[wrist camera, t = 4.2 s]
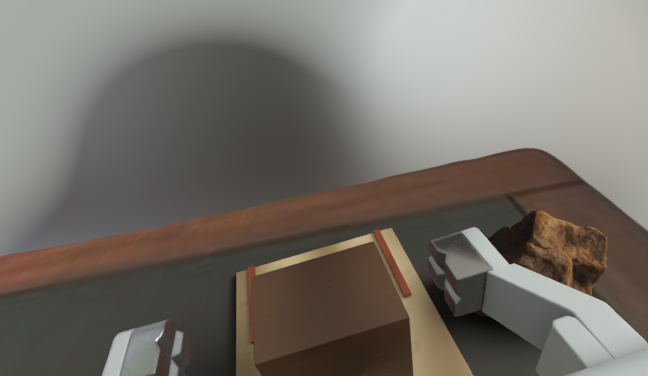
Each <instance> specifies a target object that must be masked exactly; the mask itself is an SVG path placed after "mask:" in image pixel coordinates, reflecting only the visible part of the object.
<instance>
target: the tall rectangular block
mask: <svg viewBox="0 0 648 376" xmlns="http://www.w3.org/2000/svg"><path fill="white" fill-rule="evenodd" d="M251 293H252V318H253V343H254V365H255V366H256V368H257V370H258V371H259V373H260V374H261V376H414V374H413V360H412V345H411V331H410V317H409V315H408V313H407V310H406V308H405V306H404V304H403V302H402V300H401V298H400V295H399V293H398V291H397V289H396V287H395V285H394V283H393V281H392V278H391V276H390V274H389V272H388V270H387V268H386V266H385V263H384V261H383V259H382V257H381V255H380V253H379V251H378V248H377V246H376V244H375V242H374V241H372V242H369V243H365V244H362V245H358V246H355V247H352V248H348V249H345V250H341V251H338V252H335V253H331V254H328V255H324V256H321V257H317V258H314V259H311V260H307V261H304V262H300V263H297V264H294V265H290V266H287V267H283V268H280V269H276V270H273V271H270V272H266V273H263V274H259V275H256V276H253V277H251Z"/></svg>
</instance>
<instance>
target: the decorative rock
mask: <svg viewBox="0 0 648 376" xmlns="http://www.w3.org/2000/svg"><path fill="white" fill-rule="evenodd" d="M488 241H489V242H490V243H491V244H492V245H493V246H494V247H495V249H496V250H497V251H498V252H499V253H500V254H501V255H502V257H503V258H504V259H505V260H506V261H507V262H508V263H509V265H510V264H514V263H515V264H517V265H519V266H522V267H524V268H526V269H529V270H531V271H533V272H536V273H538V274H540V275H543V276H545V277H547V278H550V279H552V280H554V281H557V282H559V283H561V284H564V285H566V286H568V287H571V288H573V289H575V290H578V291H580V292H582V293H585V294H587V295H589V296H592V293H591V290H592V287H593V285H594V284H595V283H596V282H597V281H598V280H599V278H600V276H601V275H602V274H603V273H604V272H605V270H606V264H605V263H606V254H607V237H606V236H605V235H603V234H602V233H601V232H600V231H598V230H597V229H595V228H593V227H589V226H584V227H581V226H575V225H574V224H572V223H570V222H566V221H562V220H559V219H555V218H553V217H551V216H549V215H548V214H546V213H545V212H542V211H540V210H536V211H532V212H530V213H529V214H528V215H527V216H526V217H524V218H523V219H522V220H521V221H520V222H518V223H516V224H515V225H513V226H512V227H509V226H505V227H503V228H501V229H499V230H498V231H497V232H496V233H495V234H493V235H492V236H491V237H490V238H489V239H488ZM473 313H476V314H478V315H480V316H486V317H490V316H488V315H487V314H485V313H484V312H482V310H479V311H476V312H473Z"/></svg>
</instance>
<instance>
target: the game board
mask: <svg viewBox="0 0 648 376" xmlns="http://www.w3.org/2000/svg"><path fill="white" fill-rule="evenodd" d="M372 241H374V242H375V244H376V246H377V248H378V251H379V253H380V255H381V257H382V259H383V261H384V263H385V266H386V268H387V270H388V272H389V274H390V276H391V278H392V281H393V283H394V285H395V287H396V289H397V291H398V293H399V295H400V298H401V300H402V302H403V304H404V306H405V308H406V310H407V313H408V315H409V317H410V331H411V345H412V360H413V374H414V376H473V374H472V372H471V371H470V369H469V367H468V365H467V363H466V362H465V360H464V358H463V356H462V354H461V353H460V351H459V349H458V347H457V345H456V344H455V342H454V340H453V338H452V336H451V335H450V333H449V331H448V329H447V327H446V325H445V324H444V322H443V320H442V318H441V316H440V315H439V313H438V311H437V309H436V307H435V306H434V304H433V302H432V300H431V298H430V297H429V295H428V293H427V291H426V289H425V288H424V286H423V284H422V282H421V280H420V279H419V277H418V275H417V273H416V271H415V269H414V268H413V266H412V264H411V262H410V260H409V259H408V257H407V255H406V253H405V251H404V250H403V248H402V246H401V244H400V242H399V241H398V239H397V237H396V235H395V233H394V232H393V230H392V228H389V229H385V230H382V231H380V230H379V229H377V230H374V231H373V233H372V234H368V235H365V236H361V237H358V238H354V239H351V240H348V241H344V242H341V243H337V244H334V245H330V246H327V247H324V248H320V249H317V250H313V251H310V252H306V253H303V254H300V255H296V256H293V257H289V258H286V259H282V260H279V261H276V262H272V263H269V264H265V265H262V266H258V267H255V266H250V267H248V270H245V271H241V272H238V273H236V376H261V374H260V373H259V371H258V370H257V368H256V366H255V365H254V343H253V318H252V293H251V277H253V276H256V275H259V274H263V273H266V272H270V271H273V270H276V269H280V268H283V267H287V266H290V265H294V264H297V263H300V262H304V261H307V260H311V259H314V258H317V257H321V256H324V255H328V254H331V253H335V252H338V251H341V250H345V249H348V248H352V247H355V246H358V245H362V244H365V243H369V242H372Z"/></svg>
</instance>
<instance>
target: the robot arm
mask: <svg viewBox="0 0 648 376" xmlns="http://www.w3.org/2000/svg"><path fill="white" fill-rule="evenodd" d="M428 251H429V252H430V254H431V255H430V257H429V258H428V267H429V271H430V274H431V276H432V279H433V281H434V283H435V284H436V286H437V287H438V288H439V289H441V290H443V291H444V300H445V301H446V303H447V305H448V306H449V308H450V310H451V311H452V313H453V315H454V316H455V317H458V316H461V315H465V314H468V313H472V312H476V311H479V310H482V312H484V313H485V314H487V315H488V316H490V317H491V318H493V319H495V320H496V321H498V322H499V323H501V324H502V325H504V326H505V327H507V328H508V329H510V330H511V331H513V332H514V333H516V334H517V335H519V336H520V337H522V338H523V339H525V340H526V341H528V342H530V343H531V344H533V345H534V346H536V347H537V348H539V349H540V350H542V353H541V355H540V358H539V361H538V364H537V367H536V372H537V374H538V375H539V376H648V343H647V342H646V341H645V340H644V339H643V338H642V337H641V336H640V335H639V334H638V333H637V332H636V331H635V330H634V329H633V328H632V327H630V326H629V325H628V324H627V323H626V322H625V321H624V320H623V319H622V318H621V317H620V316H619V315H618V314H617V313H616V312H615V311H614V310H613V309H612V308H611V307H610V306H609V305H608V304H606V303H605V302H603V301H601V300H598V299H596V298H594V297H592V296H589V295H587V294H585V293H582V292H580V291H578V290H575V289H573V288H571V287H568V286H566V285H564V284H561V283H559V282H557V281H554V280H552V279H550V278H547V277H545V276H543V275H540V274H538V273H536V272H533V271H531V270H529V269H526V268H524V267H522V266H519V265H517V264H515V263H514V264H510V265H509V263H508V262H507V261H506V260H505V259H504V258H503V257H502V255H501V254H500V253H499V252H498V251H497V250H496V249H495V247H494V246H493V245H492V244H491V243H490V242H489V241H488V240H487V238H486V237H485V236H484V235H483V234H482V233H481V232H480V230H479V229H477V228H475V227H473V228H470V229H467V230H463V231H460V232H456V233H453V234H449V235H446V236H443V237H440V238H437V239H433V240H430V241H429V242H428ZM176 327H177V324H176V323H175V322H174V321H173V320H172V319H168V320H164V321H160V322H157V323H153V324H149V325H146V326H142V327H138V328H135V329H131V330H128V331H124V332H121V333H118V334H117V336H116V337H115V338H114V340H113V343H112V346H111V349H110V352H109V355H108V358H107V362H106V365H105V368H104V371H103V374H102V376H186V374H185V373H184V371H185V370H186V368H187V367H188V365H189V364H190V357H191V351H190V343H189V341H188V339H187V337H186V335H185V334H184V333H183V332H180V331H177V330H176Z"/></svg>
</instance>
